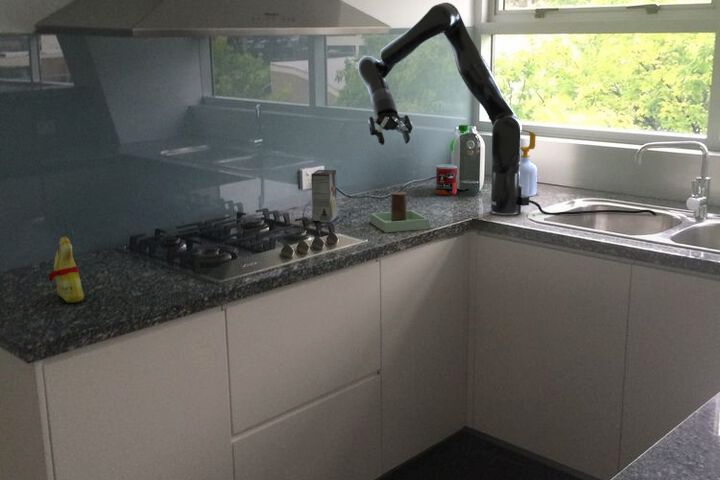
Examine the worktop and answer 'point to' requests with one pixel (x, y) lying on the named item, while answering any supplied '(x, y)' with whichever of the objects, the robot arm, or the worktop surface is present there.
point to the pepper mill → (398, 206)
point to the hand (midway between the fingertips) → (395, 142)
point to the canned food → (446, 179)
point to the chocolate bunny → (66, 273)
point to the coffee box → (324, 195)
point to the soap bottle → (528, 169)
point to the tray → (399, 222)
